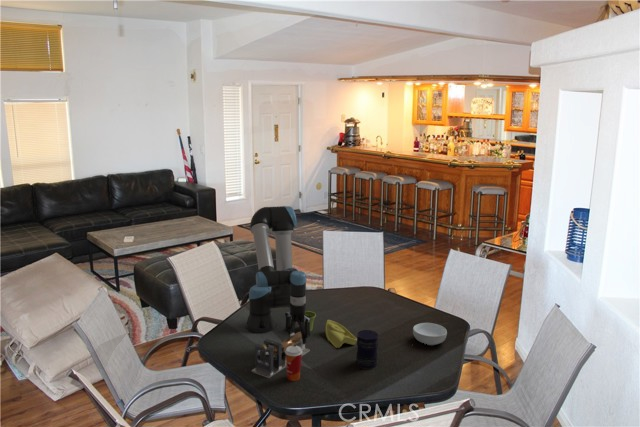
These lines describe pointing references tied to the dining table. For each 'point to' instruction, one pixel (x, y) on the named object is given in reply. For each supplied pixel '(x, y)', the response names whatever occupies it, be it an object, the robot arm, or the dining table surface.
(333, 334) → the plastic component
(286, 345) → the copper tube
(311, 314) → the plant pot
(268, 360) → the rail
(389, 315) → the dining table surface
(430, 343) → the cereal bowl
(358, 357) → the storage jar
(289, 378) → the paper cup
